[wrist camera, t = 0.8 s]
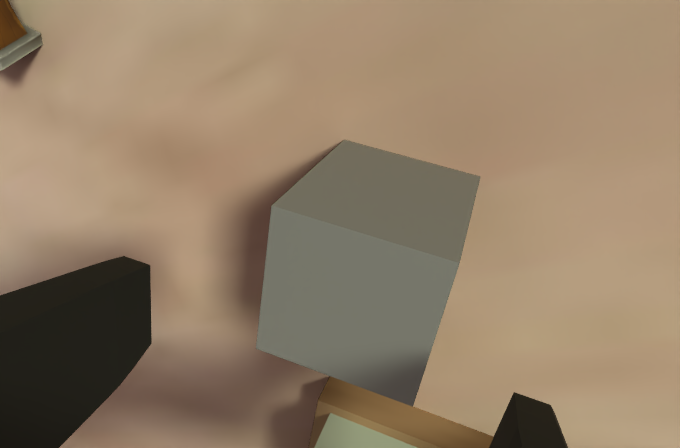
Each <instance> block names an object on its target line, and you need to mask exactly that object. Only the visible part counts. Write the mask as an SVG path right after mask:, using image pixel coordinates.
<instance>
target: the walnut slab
mask: <svg viewBox="0 0 680 448" xmlns="http://www.w3.org/2000/svg"><path fill="white" fill-rule="evenodd" d="M330 413H332V414H334V415H337V416H339V417H342V418H344V419H347V420H349V421H352V422H354V423H357V424H359V425H362V426H364V427H367V428H369V429H372V430H375V431H377V432H380V433H382V434H385V435H387V436H390V437H392V438H395V439H397V440H400V441H402V442H405V443H407V444H410V445H412V446H415V447H417V448H489V446H490V444H491V442H492V440H493V438H494V437H493V436H490V435H487V434H485V433H482V432H479V431H477V430H474V429H471V428H469V427H466V426H463V425H461V424H458V423H455V422H453V421H450V420H447V419H445V418H442V417H439V416H437V415H434V414H431V413H429V412H426V411H423V410H421V409H418V408H415V407H412V406H409V405H407V404H404V403H401V402H399V401H396V400H393V399H390V398H388V397H385V396H382V395H380V394H377V393H374V392H372V391H369V390H366V389H363V388H361V387H358V386H355V385H353V384H350V383H347V382H345V381H342V380H339V379H336V378H334V377H331V376H330V377H329V379H328V381H327V383H326V385H325V387H324V389H323V391H322V393H321V395H320V397H319V399H318V403H317V408H316V413H315V418H314V423H313V428H312V433H311V438H310V443H309V448H314V447H315V445H316V443H317V441H318V438H319V436H320V434H321V432H322V430H323V428H324V425H325V423H326V421H327V419H328V417H329V415H330Z"/></svg>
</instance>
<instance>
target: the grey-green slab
mask: <svg viewBox="0 0 680 448" xmlns="http://www.w3.org/2000/svg"><path fill="white" fill-rule="evenodd" d="M314 448H417V447H415V446H412V445H410V444H407V443H405V442H402V441H400V440H397V439H395V438H392V437H390V436H387V435H385V434H382V433H380V432H377V431H375V430H372V429H369V428H367V427H364V426H362V425H359V424H357V423H354V422H352V421H349V420H347V419H344V418H342V417H339V416H337V415H334V414H332V413H330V415H329V417H328V419H327V421H326V423H325V425H324V428H323V430H322V432H321V434H320V436H319V438H318V441H317V443H316V445H315V447H314Z"/></svg>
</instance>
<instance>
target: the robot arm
mask: <svg viewBox="0 0 680 448" xmlns="http://www.w3.org/2000/svg"><path fill="white" fill-rule="evenodd" d="M150 345H151V290H150V265H148V264H145V263H142V262H139V261H137V260H134V259H131V258H128V257H125V256H123V257H119V258H115V259H111V260H108V261H105V262H101V263H98V264H95V265H92V266H89V267H86V268H82V269H79V270H76V271H73V272H70V273H67V274H64V275H61V276H58V277H55V278H52V279H49V280H46V281H43V282H40V283H37V284H34V285H31V286H28V287H25V288H22V289H19V290H16V291H13V292H10V293H7V294H3V295H0V448H59V447H60V446H61V445H62V444H63V443H64V442H65V441H66V440H67V439H68V438H69V437H70V436H71V435H72V434H73V433H74V432H75V431H76V430H77V429H78V428H79V427H80V426H81V425H82V424H83V423H84V422H85V421H86V420H87V419H88V418H89V417H90V416H91V414H92V413H93V412H94V411H95V410H96V409H97V408H98V407H99V406H100V405H101V404H102V403H103V402H104V401H105V400H106V399H107V398H108V397H109V396H110V395H111V394H112V393H113V392H114V391H115V390H116V388H117V387H118V386H119V385H120V384H121V383H122V382H123V380H124V379H125V378H126V377H127V375H128V374H129V373H130V371H131V370H132V369H133V368H134V366H135V365H136V364H137V362H138V361H139V360H140V358H141V357H142V355H143V354H144V353H145V351H146V350H147V349H148V347H149V346H150ZM489 448H568V446H567V444H566V441H565V439H564V436H563V434H562V431H561V428H560V426H559V423H558V420H557V418H556V415H555V413H554V411H553V409H552V407H551V405H549V404H546V403H543V402H540V401H538V400H535V399H532V398H529V397H526V396H523V395H520V394H517V393H515V392H514V393H513V395H512V398H511V400H510V402H509V404H508V407H507V409H506V411H505V413H504V415H503V418H502V420H501V422H500V424H499V427H498V429H497V431H496V433H495V435H494V438H493V440H492V442H491V444H490V446H489Z"/></svg>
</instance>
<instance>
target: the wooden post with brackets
mask: <svg viewBox="0 0 680 448" xmlns="http://www.w3.org/2000/svg"><path fill="white" fill-rule="evenodd" d="M40 35H41V33H39V32H38V31H36V30H34V29H32V28H30V27H29V26H27V25H25V24H23V23H21V22H20V21H19V20H18V18H17V17H16V15H15V13H14V11H13V9H12V7H11V5H10V3H9V1H8V0H0V70H1V71H2V70H3V69H5V68H7V67H8V66H10V65H11V64H13V63H15V62H16V61H18V60H19V59H21V58H22V57H24V56H26V55H27V54H29V53H30V52H32V51H33V50H35V49H37V48H38V47H40V46H41V45H43V43H42V38H41V36H40Z"/></svg>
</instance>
